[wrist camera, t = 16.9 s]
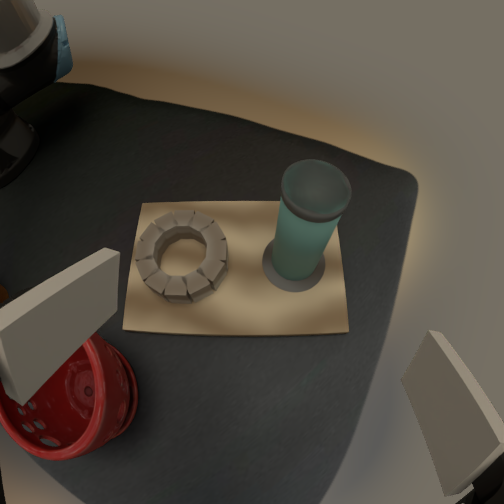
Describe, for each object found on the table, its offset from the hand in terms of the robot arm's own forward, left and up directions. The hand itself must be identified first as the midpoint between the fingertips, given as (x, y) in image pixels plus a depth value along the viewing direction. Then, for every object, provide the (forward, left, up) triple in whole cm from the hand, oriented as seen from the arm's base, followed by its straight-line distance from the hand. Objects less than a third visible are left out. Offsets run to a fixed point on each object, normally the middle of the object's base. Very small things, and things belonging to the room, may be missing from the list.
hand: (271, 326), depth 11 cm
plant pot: (+4, -17, -20) cm, 27 cm away
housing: (-11, -2, -20) cm, 23 cm away
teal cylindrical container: (-11, +4, -19) cm, 22 cm away
